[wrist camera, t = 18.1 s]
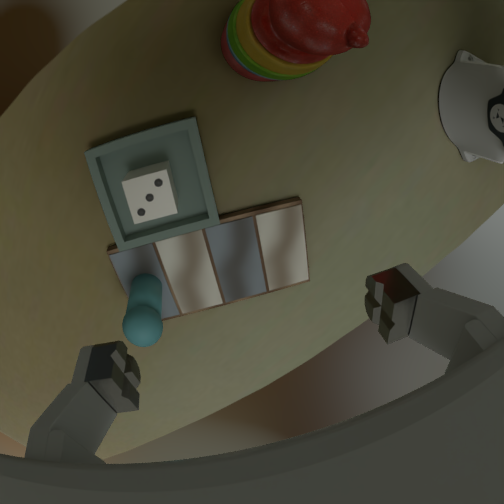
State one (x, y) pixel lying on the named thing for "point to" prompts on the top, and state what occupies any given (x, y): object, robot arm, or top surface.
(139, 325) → the pawn
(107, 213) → the tray
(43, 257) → the top surface
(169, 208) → the die
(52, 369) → the top surface
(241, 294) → the board
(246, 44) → the stacking bear
